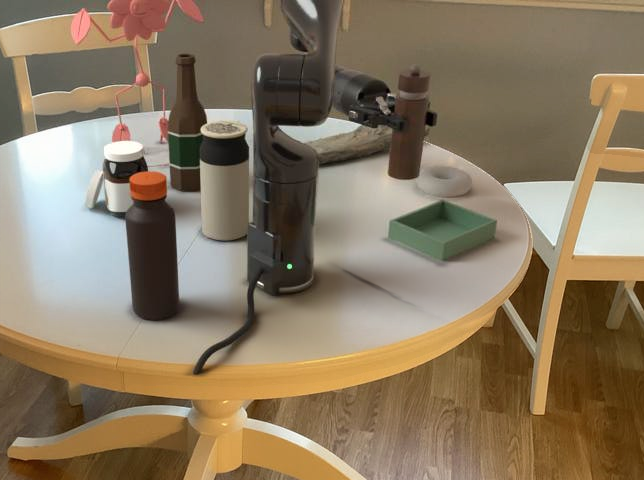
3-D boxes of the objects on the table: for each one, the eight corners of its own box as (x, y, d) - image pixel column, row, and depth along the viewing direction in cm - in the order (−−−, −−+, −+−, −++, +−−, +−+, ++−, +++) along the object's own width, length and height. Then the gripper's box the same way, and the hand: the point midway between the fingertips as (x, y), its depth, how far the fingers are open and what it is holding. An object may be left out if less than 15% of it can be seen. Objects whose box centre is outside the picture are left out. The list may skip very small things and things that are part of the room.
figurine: (80, 153, 177) (60, -28, 158) (195, 136, 185) (189, -39, 166) (99, 178, 165) (80, -15, 146) (221, 158, 173) (218, -27, 154)
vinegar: (171, 323, 119) (164, 189, 108) (126, 317, 120) (114, 185, 109) (185, 300, 124) (179, 170, 113) (141, 295, 126) (132, 166, 115)
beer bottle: (216, 188, 160) (214, 57, 146) (177, 195, 157) (171, 63, 144) (201, 174, 166) (197, 48, 153) (164, 180, 164) (157, 52, 150)
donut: (415, 200, 153) (472, 202, 152) (417, 182, 152) (474, 184, 150) (415, 179, 162) (469, 181, 160) (416, 162, 160) (471, 164, 158)
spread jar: (156, 217, 149) (152, 154, 143) (93, 227, 146) (86, 162, 140) (139, 193, 159) (135, 132, 152) (80, 201, 156) (73, 140, 149)
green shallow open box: (441, 264, 132) (444, 243, 130) (387, 240, 140) (389, 220, 138) (493, 240, 139) (497, 220, 137) (439, 218, 146) (442, 199, 144)
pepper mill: (404, 182, 138) (418, 70, 128) (381, 173, 142) (392, 63, 132) (425, 174, 141) (440, 64, 131) (402, 166, 144) (414, 58, 134)
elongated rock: (275, 164, 173) (303, 182, 166) (275, 140, 170) (303, 157, 163) (408, 125, 186) (439, 140, 179) (411, 101, 183) (442, 116, 176)
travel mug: (226, 246, 139) (225, 139, 129) (192, 232, 144) (188, 128, 134) (258, 230, 144) (259, 126, 134) (224, 218, 148) (222, 116, 138)
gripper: (324, 80, 142) (386, 107, 129) (393, 67, 147) (459, 92, 135) (321, 123, 146) (381, 154, 134) (388, 110, 152) (452, 138, 139)
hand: (420, 123), depth 134 cm, fingers closed on pepper mill, 5 cm apart
